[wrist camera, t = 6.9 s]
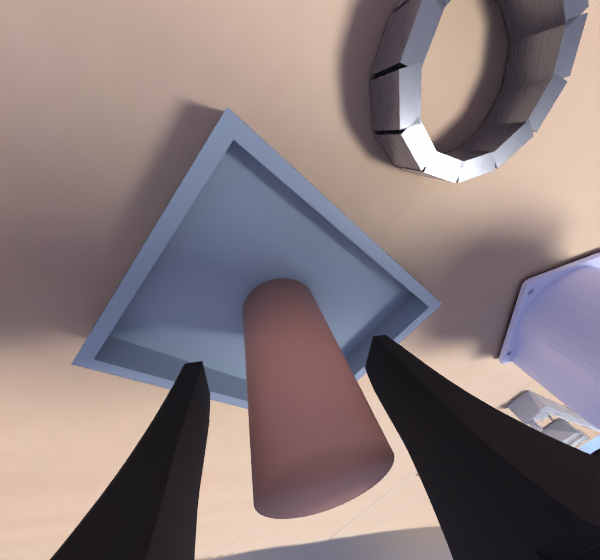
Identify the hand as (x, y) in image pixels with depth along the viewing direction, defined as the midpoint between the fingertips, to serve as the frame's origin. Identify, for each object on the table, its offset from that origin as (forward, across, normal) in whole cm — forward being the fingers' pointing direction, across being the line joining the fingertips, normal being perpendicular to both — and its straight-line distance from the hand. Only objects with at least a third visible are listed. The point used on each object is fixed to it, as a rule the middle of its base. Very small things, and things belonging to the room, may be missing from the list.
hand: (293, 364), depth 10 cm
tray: (+4, 0, 0) cm, 4 cm away
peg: (+4, 0, 0) cm, 4 cm away
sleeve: (+4, -7, -11) cm, 13 cm away
